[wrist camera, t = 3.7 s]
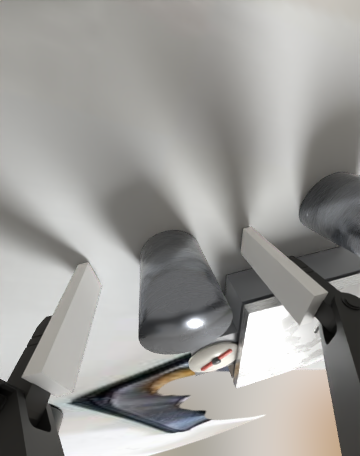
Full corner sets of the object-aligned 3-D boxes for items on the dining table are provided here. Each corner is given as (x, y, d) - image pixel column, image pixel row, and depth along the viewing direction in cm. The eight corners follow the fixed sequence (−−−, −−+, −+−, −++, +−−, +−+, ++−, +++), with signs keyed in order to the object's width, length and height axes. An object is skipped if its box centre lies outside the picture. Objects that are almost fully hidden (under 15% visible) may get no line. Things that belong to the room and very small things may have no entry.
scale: (189, 363, 25) (196, 396, 22) (172, 288, 15) (179, 326, 12) (302, 329, 27) (322, 354, 24) (347, 244, 17) (391, 268, 14)
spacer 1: (148, 282, 15) (150, 362, 9) (133, 238, 12) (125, 315, 7) (201, 270, 15) (230, 339, 10) (197, 224, 12) (235, 286, 7)
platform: (233, 380, 23) (235, 388, 22) (243, 304, 13) (249, 314, 13) (320, 352, 24) (326, 358, 23) (386, 265, 15) (398, 272, 14)
